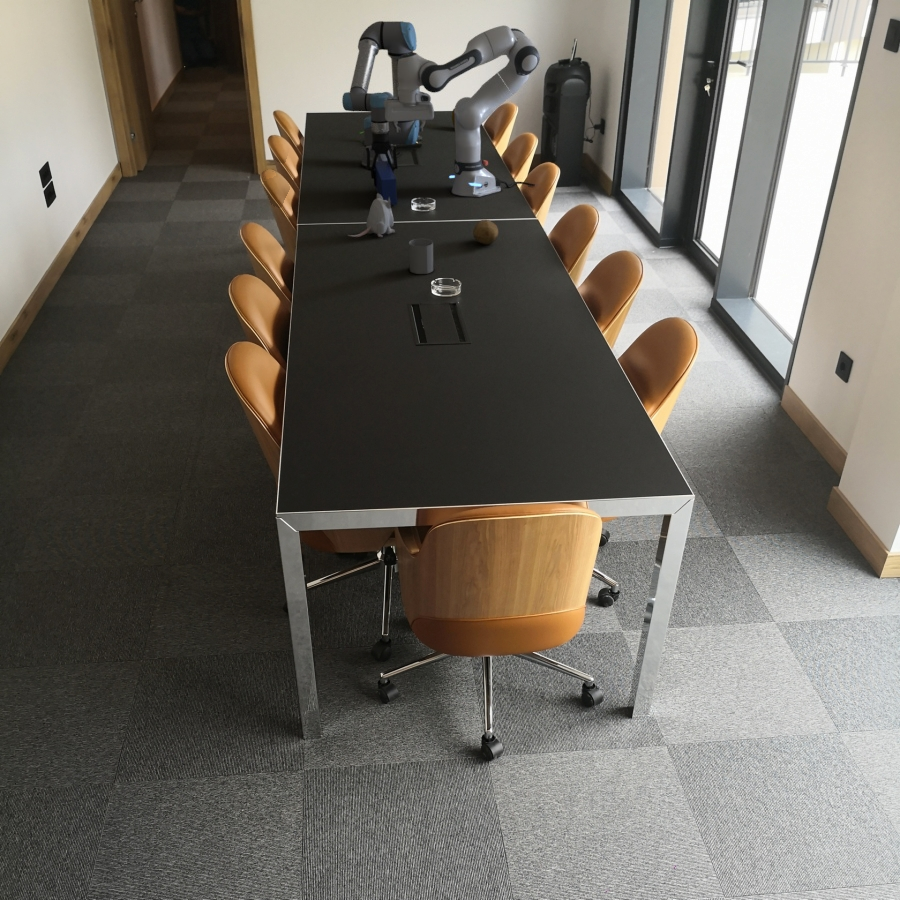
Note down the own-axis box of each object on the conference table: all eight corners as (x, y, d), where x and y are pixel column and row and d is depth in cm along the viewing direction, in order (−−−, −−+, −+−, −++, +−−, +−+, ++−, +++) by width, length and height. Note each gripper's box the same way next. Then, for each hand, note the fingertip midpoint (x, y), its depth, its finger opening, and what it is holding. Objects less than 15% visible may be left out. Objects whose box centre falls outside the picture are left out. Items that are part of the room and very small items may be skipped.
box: (375, 185, 391) (373, 161, 385) (388, 185, 392) (387, 160, 385) (382, 205, 368) (381, 179, 362) (396, 204, 369) (396, 178, 363)
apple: (471, 132, 486) (471, 108, 479) (451, 132, 486) (451, 108, 479) (470, 128, 495) (471, 104, 488) (452, 128, 495) (452, 104, 488)
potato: (495, 236, 338) (496, 216, 334) (500, 248, 327) (500, 227, 322) (471, 236, 338) (471, 216, 334) (474, 249, 326) (474, 228, 322)
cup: (409, 265, 311) (408, 238, 306) (432, 265, 312) (431, 238, 307) (410, 274, 304) (409, 246, 299) (433, 273, 305) (433, 246, 299)
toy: (400, 232, 342) (399, 194, 334) (355, 247, 327) (353, 208, 319) (385, 227, 347) (383, 189, 339) (340, 242, 333) (337, 203, 324)
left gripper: (359, 135, 370) (362, 189, 383) (403, 132, 373) (405, 186, 386) (357, 130, 376) (360, 184, 389) (401, 128, 379) (402, 181, 392)
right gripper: (384, 98, 349) (386, 134, 357) (434, 97, 352) (434, 132, 360) (382, 95, 354) (384, 131, 362) (432, 94, 358) (432, 128, 365)
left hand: (382, 185), depth 387 cm, fingers closed on box, 6 cm apart
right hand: (409, 131), depth 361 cm, fingers open, 8 cm apart
